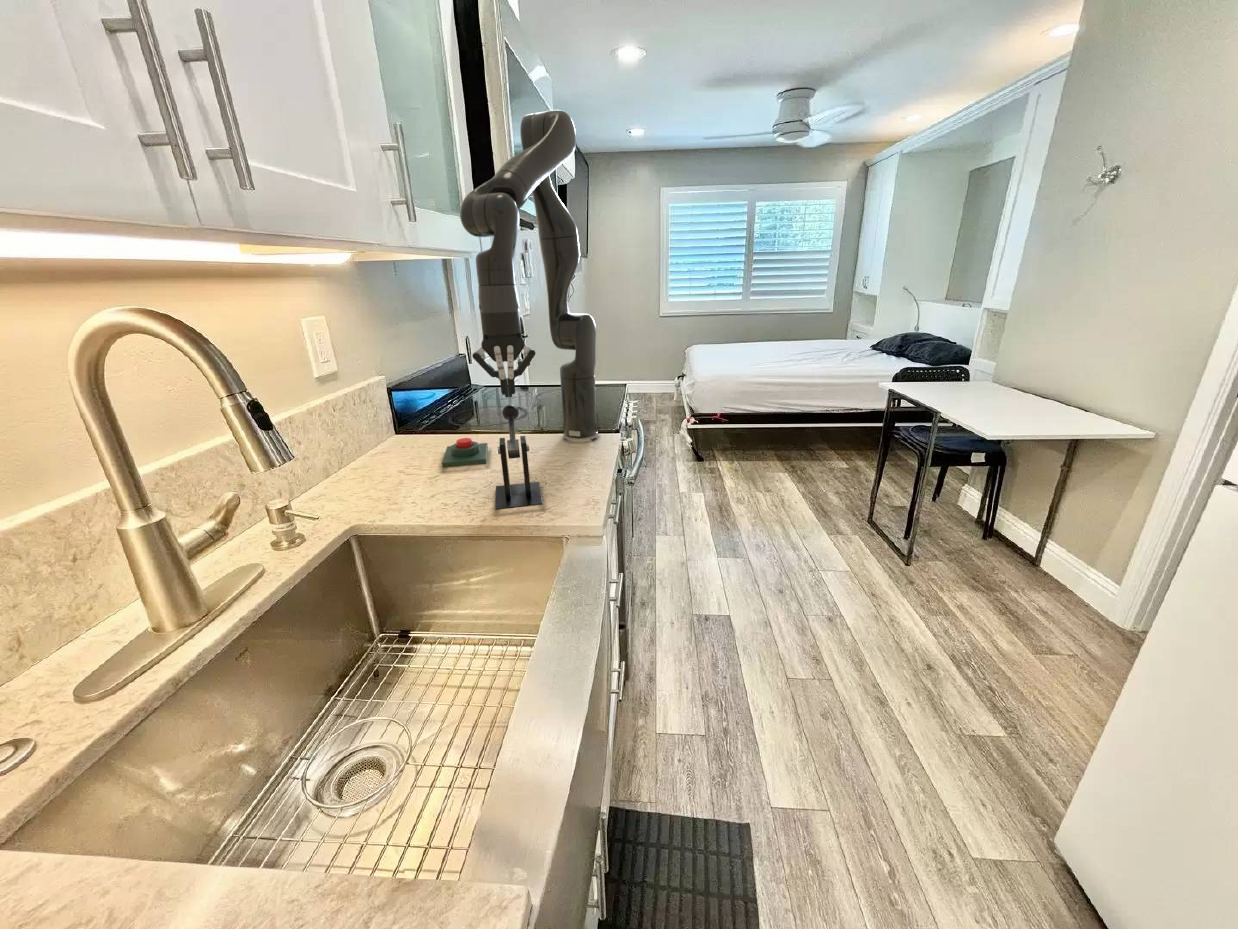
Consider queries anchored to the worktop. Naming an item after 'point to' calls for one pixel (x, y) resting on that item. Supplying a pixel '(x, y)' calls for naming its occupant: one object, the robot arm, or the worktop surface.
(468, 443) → the button
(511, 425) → the lever
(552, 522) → the worktop surface
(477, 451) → the button box
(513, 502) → the bracket
